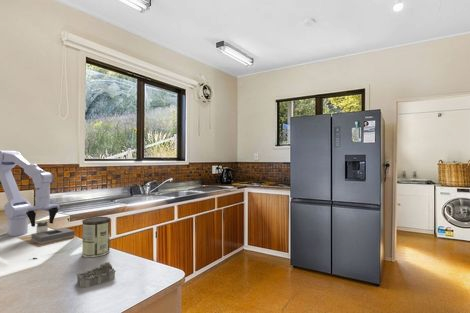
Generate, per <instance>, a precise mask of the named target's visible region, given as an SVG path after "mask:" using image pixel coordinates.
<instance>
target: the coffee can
mask: <svg viewBox="0 0 470 313" xmlns="http://www.w3.org/2000/svg"><path fill="white" fill-rule="evenodd" d="M110 222H111V218H110V217H109V216H94V217H93V216H91V217H87V218H84V219H82V250H81V251H82V252H81V253H82V254H81V255H82V256H83V257H86V258H97V257H102V256H105V255H108V254H109V253H110V244H111V243H110V238H111V237H110V236H111V235H110V230H111V227H110V226H111V223H110Z"/></svg>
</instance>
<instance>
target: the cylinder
mask: <svg viewBox="0 0 470 313" xmlns="http://www.w3.org/2000/svg"><path fill="white" fill-rule="evenodd" d="M36 224H37V225H36V233H39V232H44V231H49V230H48V227H49V226H48V221H39V222H37V223H36Z"/></svg>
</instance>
